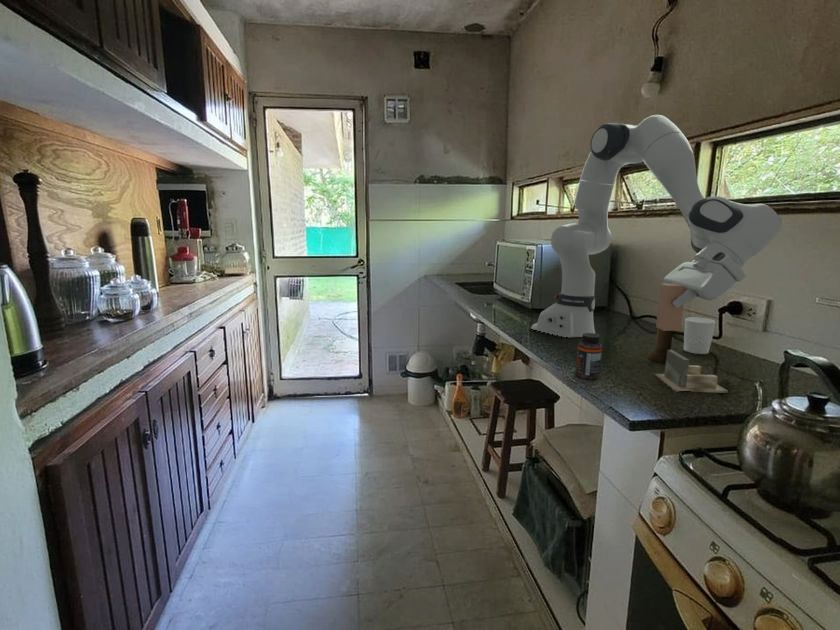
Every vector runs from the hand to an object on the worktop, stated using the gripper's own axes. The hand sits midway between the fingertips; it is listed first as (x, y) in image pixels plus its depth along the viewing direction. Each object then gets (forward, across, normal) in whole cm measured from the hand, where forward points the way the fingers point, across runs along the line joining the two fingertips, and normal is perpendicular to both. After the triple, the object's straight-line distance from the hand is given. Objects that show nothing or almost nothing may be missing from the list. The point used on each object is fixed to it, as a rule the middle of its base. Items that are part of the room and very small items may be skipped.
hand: (668, 303), depth 107 cm
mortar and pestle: (+8, -19, +20) cm, 29 cm away
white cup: (-2, -29, +31) cm, 42 cm away
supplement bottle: (+26, -2, +2) cm, 27 cm away
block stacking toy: (+10, +1, +19) cm, 21 cm away
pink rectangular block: (+4, 0, +5) cm, 6 cm away
